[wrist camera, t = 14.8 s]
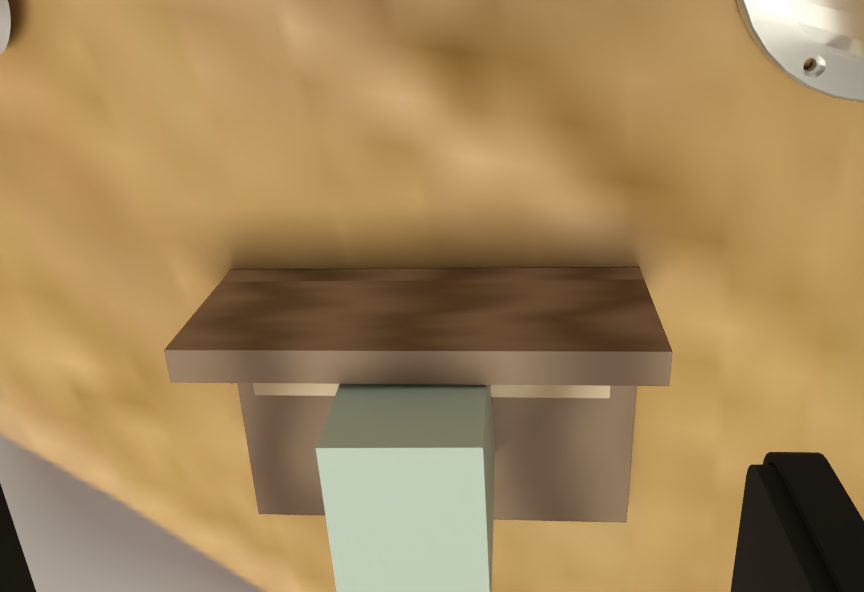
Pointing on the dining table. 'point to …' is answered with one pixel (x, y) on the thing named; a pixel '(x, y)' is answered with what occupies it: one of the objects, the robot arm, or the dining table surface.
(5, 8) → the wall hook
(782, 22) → the robot arm
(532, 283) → the board
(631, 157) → the dining table surface
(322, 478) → the grey-green rectangular block
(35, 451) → the dining table surface
